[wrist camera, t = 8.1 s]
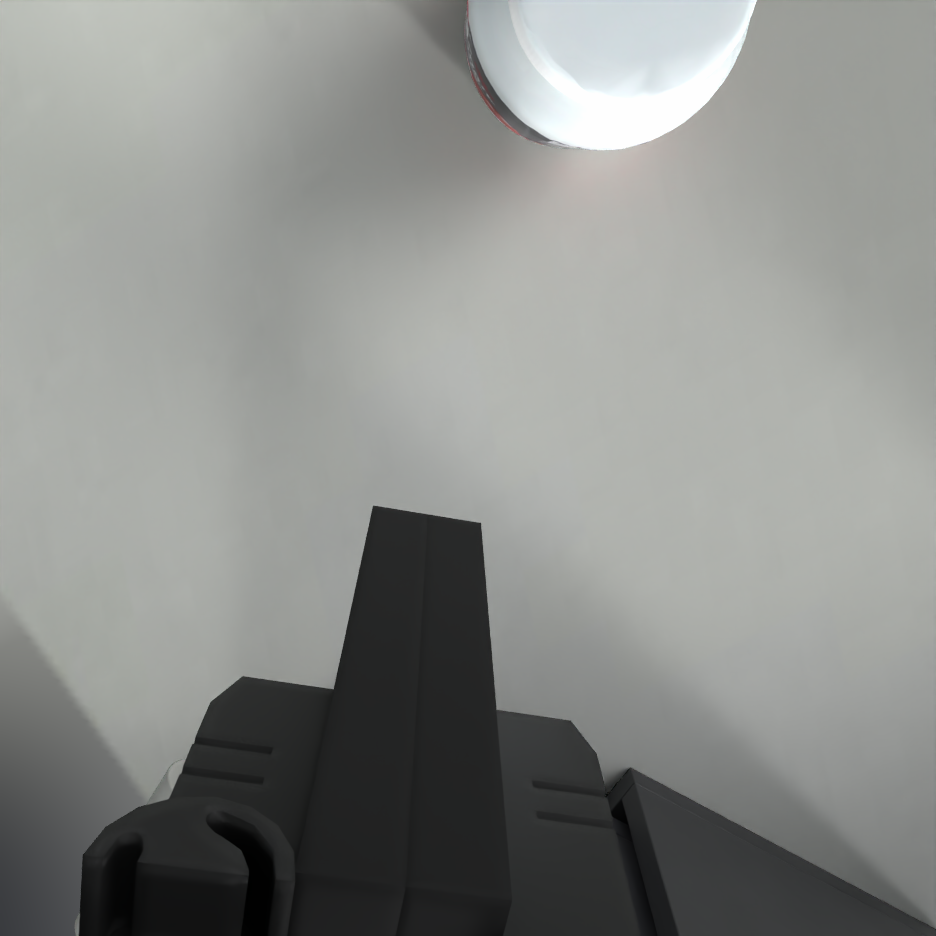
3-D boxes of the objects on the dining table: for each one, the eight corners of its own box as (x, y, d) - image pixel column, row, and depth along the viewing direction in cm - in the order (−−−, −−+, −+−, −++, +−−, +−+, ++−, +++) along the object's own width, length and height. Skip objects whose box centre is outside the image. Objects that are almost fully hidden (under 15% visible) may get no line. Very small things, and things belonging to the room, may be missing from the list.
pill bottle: (438, -44, 23) (430, -177, 13) (647, -108, 22) (787, -291, 13) (493, 174, 24) (518, 189, 15) (687, 118, 24) (834, 99, 15)
